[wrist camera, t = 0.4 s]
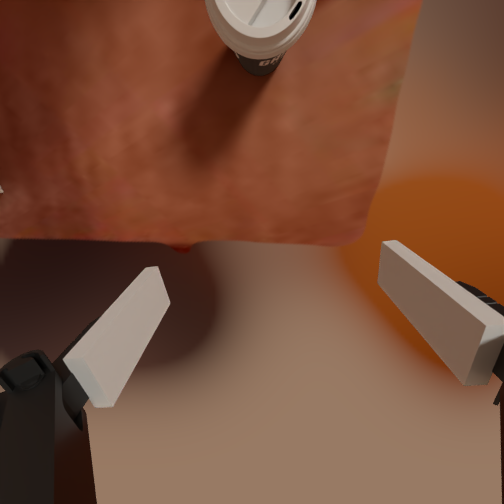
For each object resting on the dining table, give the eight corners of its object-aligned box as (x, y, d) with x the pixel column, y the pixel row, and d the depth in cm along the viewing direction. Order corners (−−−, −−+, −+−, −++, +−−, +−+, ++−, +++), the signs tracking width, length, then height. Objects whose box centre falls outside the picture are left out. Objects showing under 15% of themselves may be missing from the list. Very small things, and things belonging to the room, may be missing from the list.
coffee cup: (246, 103, 34) (237, 76, 20) (210, 27, 30) (171, -67, 17) (307, 63, 32) (343, 4, 18) (277, -23, 28) (293, -177, 15)
